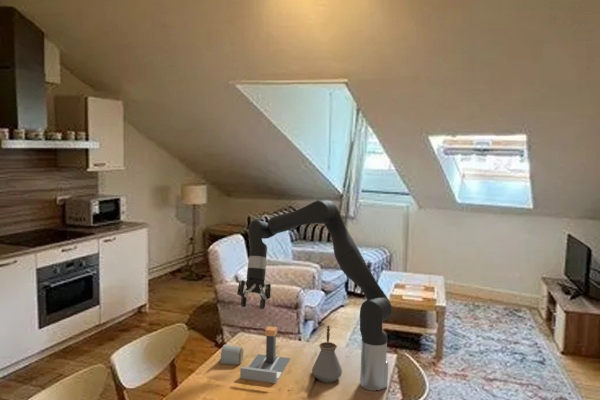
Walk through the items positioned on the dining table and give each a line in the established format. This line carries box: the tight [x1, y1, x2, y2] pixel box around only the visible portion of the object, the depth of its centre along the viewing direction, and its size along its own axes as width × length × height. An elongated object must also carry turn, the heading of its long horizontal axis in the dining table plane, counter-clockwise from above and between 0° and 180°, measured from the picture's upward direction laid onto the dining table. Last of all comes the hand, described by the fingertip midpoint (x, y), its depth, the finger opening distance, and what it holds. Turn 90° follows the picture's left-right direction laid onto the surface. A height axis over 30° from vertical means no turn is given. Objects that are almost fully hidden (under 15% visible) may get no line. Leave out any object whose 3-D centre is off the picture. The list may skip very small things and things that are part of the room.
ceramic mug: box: [220, 344, 244, 366], centre depth 200 cm, size 11×8×8 cm
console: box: [239, 353, 291, 385], centre depth 194 cm, size 22×14×5 cm, turn 167°
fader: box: [264, 326, 278, 363], centre depth 199 cm, size 4×4×13 cm
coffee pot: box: [311, 324, 343, 383], centre depth 193 cm, size 21×12×15 cm, turn 176°
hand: (252, 308), depth 202 cm, fingers open, 8 cm apart
